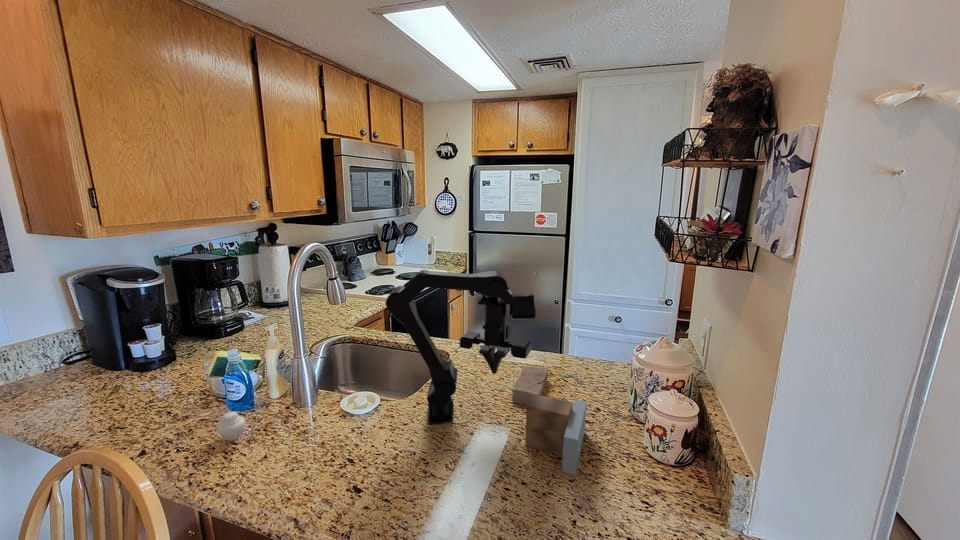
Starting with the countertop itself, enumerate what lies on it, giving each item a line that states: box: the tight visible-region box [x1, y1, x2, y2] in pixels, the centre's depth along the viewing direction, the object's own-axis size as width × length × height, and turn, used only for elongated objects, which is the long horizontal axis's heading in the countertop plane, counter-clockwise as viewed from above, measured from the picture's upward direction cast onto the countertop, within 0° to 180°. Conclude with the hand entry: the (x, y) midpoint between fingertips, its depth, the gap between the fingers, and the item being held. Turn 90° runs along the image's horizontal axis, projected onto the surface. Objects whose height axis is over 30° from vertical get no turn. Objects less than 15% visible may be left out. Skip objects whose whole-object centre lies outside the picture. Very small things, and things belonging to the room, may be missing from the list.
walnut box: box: [524, 394, 573, 456], centre depth 94 cm, size 10×6×11 cm, turn 68°
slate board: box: [561, 399, 588, 476], centre depth 91 cm, size 3×16×9 cm, turn 158°
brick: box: [511, 365, 549, 406], centre depth 118 cm, size 17×8×5 cm, turn 160°
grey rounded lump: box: [216, 411, 246, 442], centre depth 96 cm, size 6×6×7 cm
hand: (494, 373), depth 103 cm, fingers closed
